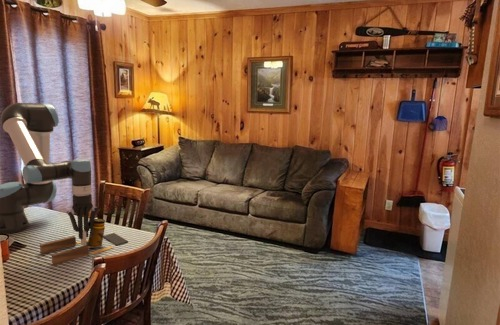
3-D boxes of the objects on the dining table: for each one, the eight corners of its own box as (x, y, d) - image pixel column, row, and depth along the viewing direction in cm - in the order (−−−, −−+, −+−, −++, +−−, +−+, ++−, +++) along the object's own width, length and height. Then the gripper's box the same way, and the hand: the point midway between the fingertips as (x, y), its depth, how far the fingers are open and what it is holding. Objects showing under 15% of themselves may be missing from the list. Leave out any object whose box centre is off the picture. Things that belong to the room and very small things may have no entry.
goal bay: (75, 242, 157) (75, 242, 157) (97, 237, 164) (97, 236, 164) (91, 254, 146) (91, 254, 146) (113, 248, 153) (113, 247, 153)
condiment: (104, 247, 154) (108, 222, 153) (85, 248, 148) (89, 222, 148) (99, 241, 159) (103, 217, 159) (80, 242, 154) (85, 217, 153)
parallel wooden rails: (40, 252, 145) (39, 244, 144) (74, 243, 156) (73, 235, 155) (53, 265, 135) (53, 256, 134) (89, 254, 145) (88, 246, 145)
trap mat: (102, 237, 165) (102, 236, 164) (114, 234, 169) (114, 232, 169) (116, 245, 156) (116, 244, 155) (128, 242, 160) (128, 241, 160)
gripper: (70, 198, 139) (71, 251, 143) (100, 193, 149) (101, 243, 152) (63, 194, 144) (65, 246, 147) (93, 190, 154) (94, 239, 157)
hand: (83, 244), depth 150 cm, fingers closed
